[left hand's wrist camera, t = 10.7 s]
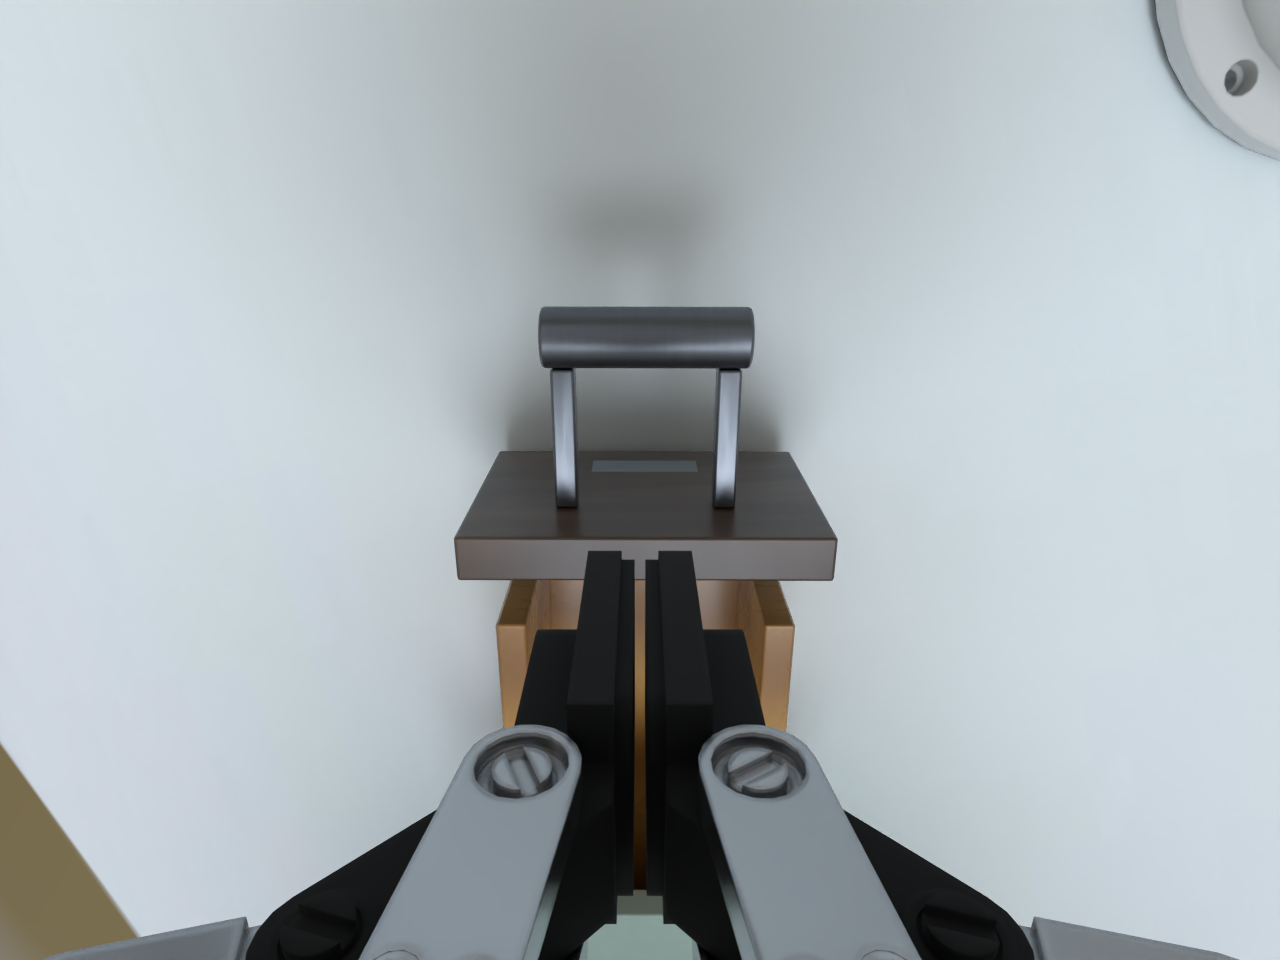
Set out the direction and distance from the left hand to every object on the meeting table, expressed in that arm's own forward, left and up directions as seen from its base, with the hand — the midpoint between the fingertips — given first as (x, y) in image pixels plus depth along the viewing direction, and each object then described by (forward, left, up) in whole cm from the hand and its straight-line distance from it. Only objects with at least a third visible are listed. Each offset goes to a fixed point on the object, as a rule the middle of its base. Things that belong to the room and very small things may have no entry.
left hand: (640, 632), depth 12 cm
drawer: (+8, -2, -13) cm, 15 cm away
